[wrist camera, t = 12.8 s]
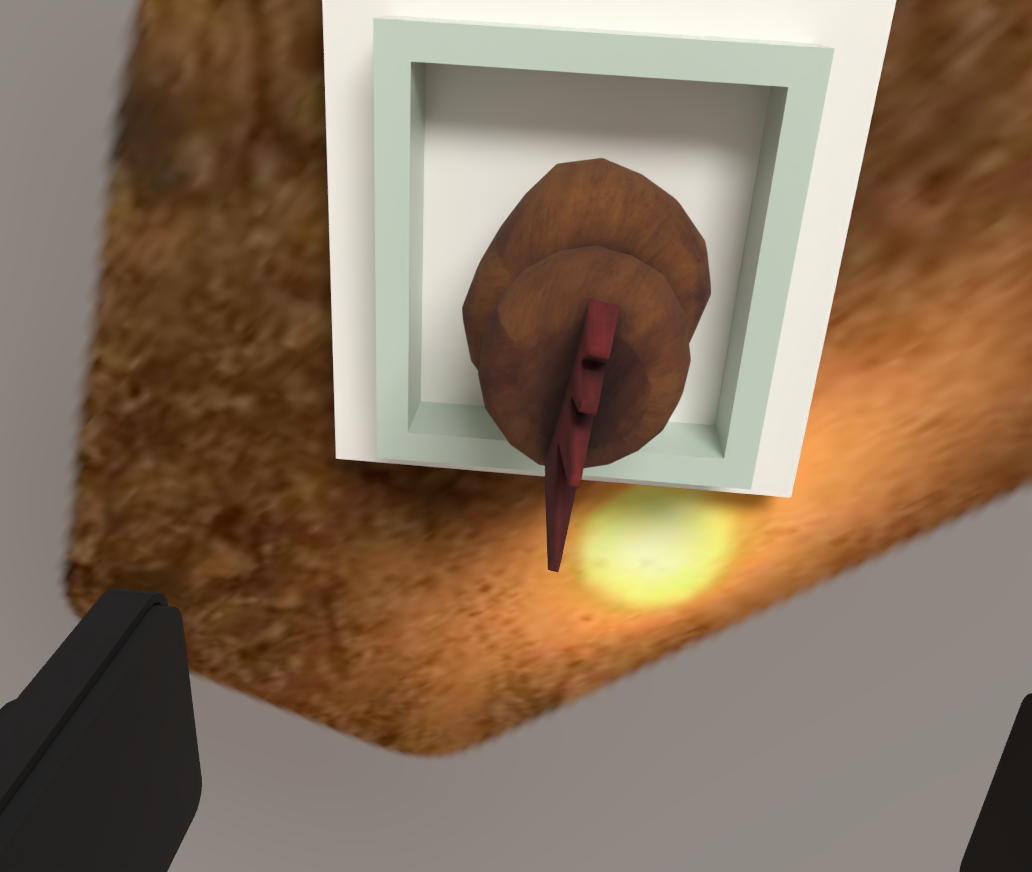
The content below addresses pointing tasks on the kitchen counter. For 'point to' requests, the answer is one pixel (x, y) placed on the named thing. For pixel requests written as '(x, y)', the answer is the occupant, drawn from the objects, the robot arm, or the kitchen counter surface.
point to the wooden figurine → (586, 322)
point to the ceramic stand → (582, 136)
